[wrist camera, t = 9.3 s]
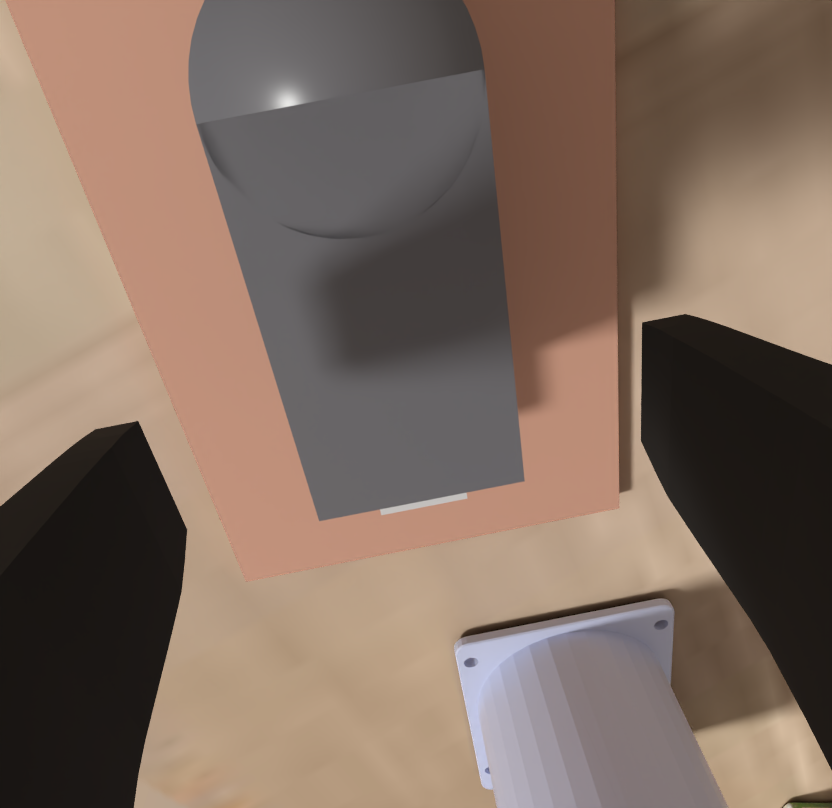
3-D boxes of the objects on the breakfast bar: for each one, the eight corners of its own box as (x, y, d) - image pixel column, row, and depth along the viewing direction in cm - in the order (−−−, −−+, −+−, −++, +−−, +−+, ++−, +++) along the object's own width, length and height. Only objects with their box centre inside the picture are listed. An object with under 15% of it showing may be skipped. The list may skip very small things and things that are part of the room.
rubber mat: (612, 496, 23) (619, 508, 22) (247, 568, 23) (245, 581, 22) (599, -388, 12) (611, -404, 12) (-88, -257, 12) (-106, -267, 12)
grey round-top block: (488, 427, 20) (531, 549, 16) (337, 456, 20) (339, 587, 16) (423, -86, 14) (466, -110, 9) (199, -44, 14) (142, -48, 9)
